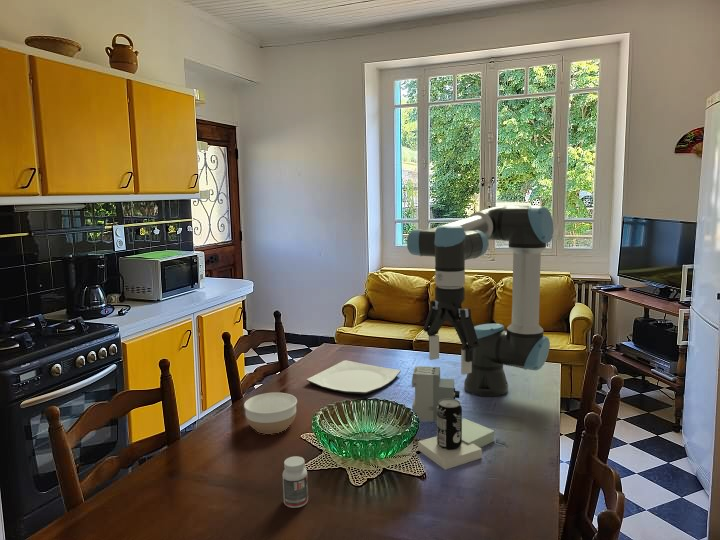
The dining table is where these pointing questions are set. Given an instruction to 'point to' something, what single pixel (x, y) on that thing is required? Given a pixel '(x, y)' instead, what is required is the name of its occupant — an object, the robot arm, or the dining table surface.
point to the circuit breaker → (430, 392)
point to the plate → (354, 377)
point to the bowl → (270, 412)
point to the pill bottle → (295, 482)
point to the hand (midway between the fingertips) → (449, 365)
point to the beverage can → (449, 424)
